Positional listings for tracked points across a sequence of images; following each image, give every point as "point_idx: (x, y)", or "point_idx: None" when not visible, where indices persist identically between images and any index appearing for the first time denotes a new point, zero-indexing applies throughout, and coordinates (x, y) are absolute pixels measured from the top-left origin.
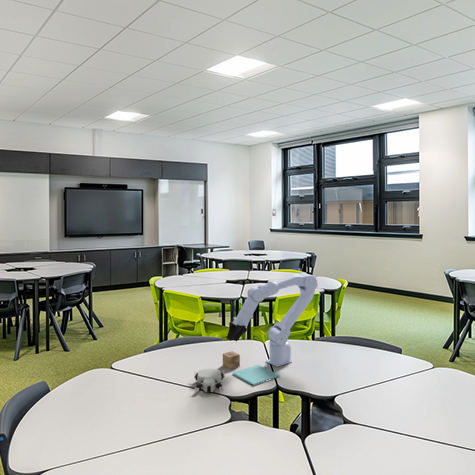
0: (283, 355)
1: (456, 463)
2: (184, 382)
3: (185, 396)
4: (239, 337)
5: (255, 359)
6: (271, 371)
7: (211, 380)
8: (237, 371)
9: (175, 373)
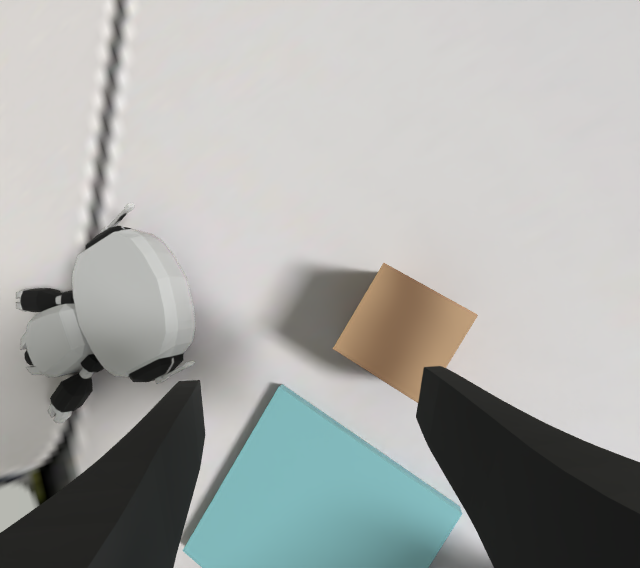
0: None
1: None
2: (122, 189)
3: (18, 266)
4: (452, 481)
5: None
6: None
7: (50, 353)
8: (304, 408)
9: (193, 89)
